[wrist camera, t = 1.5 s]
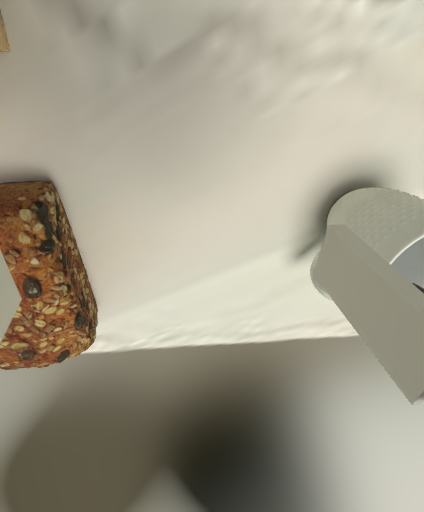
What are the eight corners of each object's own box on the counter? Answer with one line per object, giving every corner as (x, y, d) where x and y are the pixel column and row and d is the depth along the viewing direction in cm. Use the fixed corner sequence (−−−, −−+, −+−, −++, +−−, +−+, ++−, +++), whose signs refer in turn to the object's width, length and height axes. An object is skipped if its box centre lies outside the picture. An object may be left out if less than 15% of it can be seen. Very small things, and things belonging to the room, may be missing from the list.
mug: (314, 277, 44) (368, 348, 33) (272, 237, 38) (321, 308, 28) (402, 208, 40) (495, 265, 29) (369, 152, 34) (472, 197, 23)
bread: (-58, 182, 27) (-141, 237, 19) (63, 174, 29) (32, 222, 21) (18, 320, 38) (-15, 392, 30) (103, 308, 40) (94, 373, 32)
